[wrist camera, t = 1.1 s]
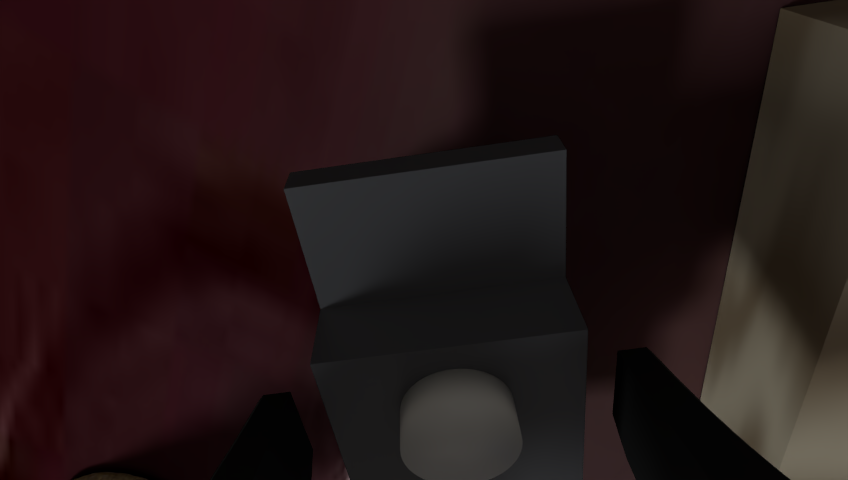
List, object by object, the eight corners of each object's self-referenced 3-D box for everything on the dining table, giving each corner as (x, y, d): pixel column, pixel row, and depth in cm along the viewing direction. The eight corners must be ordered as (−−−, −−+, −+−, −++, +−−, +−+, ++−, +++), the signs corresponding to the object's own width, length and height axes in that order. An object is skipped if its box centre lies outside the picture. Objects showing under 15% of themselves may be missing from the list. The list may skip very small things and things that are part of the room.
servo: (530, 417, 19) (586, 646, 13) (401, 432, 19) (401, 665, 13) (514, 68, 12) (612, 221, 7) (319, 96, 13) (252, 269, 7)
